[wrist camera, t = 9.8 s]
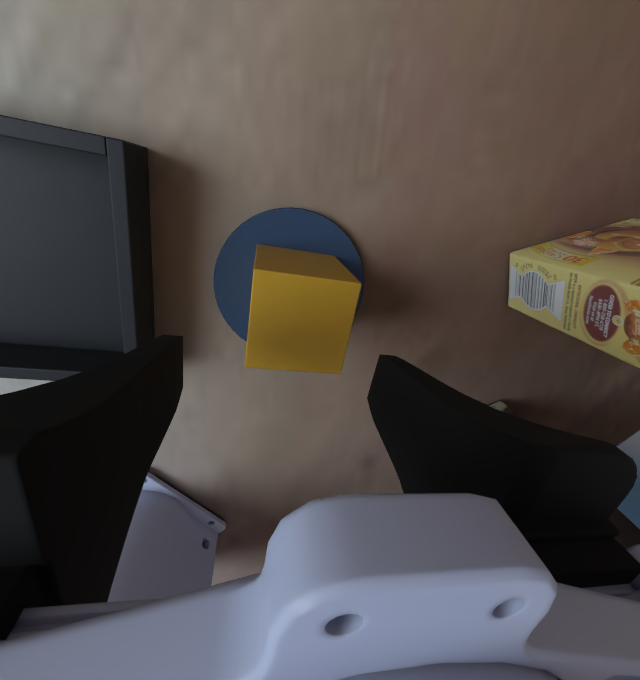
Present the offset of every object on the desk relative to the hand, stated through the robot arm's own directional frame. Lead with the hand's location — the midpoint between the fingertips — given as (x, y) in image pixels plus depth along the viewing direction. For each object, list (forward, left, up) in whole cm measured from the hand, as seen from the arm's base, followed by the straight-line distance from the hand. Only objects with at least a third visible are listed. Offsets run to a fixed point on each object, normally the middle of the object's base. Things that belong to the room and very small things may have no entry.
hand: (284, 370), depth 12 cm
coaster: (0, -1, -9) cm, 9 cm away
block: (0, -1, -9) cm, 9 cm away
